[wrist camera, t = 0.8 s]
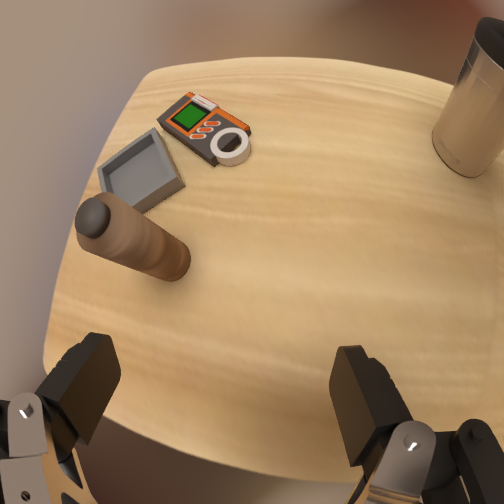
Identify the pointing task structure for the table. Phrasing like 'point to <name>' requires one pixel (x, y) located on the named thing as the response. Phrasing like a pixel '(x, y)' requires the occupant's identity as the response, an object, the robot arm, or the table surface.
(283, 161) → the table surface
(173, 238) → the pepper mill
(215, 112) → the electronic device
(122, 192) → the tray
